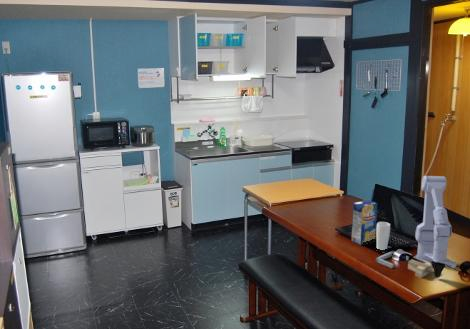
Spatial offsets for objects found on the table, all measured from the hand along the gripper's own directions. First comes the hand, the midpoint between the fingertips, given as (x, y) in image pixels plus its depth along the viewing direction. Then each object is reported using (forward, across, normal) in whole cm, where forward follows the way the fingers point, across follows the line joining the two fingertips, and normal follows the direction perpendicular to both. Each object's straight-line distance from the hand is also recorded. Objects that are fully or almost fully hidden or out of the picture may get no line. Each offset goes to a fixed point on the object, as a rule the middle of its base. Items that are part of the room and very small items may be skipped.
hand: (437, 276), depth 205 cm
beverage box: (+1, -48, +9) cm, 49 cm away
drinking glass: (+1, -34, +6) cm, 35 cm away
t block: (+1, -9, 0) cm, 9 cm away
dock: (+1, -24, 0) cm, 24 cm away
